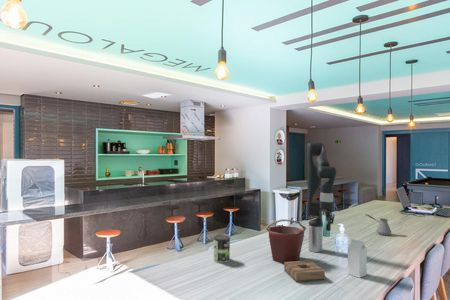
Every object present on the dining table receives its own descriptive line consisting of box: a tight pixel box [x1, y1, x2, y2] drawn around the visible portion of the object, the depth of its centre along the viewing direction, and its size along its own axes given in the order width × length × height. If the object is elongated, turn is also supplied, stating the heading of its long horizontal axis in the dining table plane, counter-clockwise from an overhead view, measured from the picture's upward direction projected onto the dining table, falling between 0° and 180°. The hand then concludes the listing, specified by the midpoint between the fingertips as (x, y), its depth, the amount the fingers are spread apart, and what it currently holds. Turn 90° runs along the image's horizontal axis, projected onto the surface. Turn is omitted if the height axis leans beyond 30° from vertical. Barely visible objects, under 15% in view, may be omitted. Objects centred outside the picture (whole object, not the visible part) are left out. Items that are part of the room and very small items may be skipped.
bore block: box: [283, 260, 326, 283], centre depth 169 cm, size 16×16×5 cm
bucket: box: [265, 218, 307, 265], centre depth 195 cm, size 24×22×25 cm
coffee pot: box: [365, 213, 392, 237], centre depth 263 cm, size 21×12×15 cm, turn 42°
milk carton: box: [347, 238, 368, 279], centre depth 171 cm, size 7×7×19 cm
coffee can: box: [213, 234, 231, 264], centre depth 193 cm, size 10×10×14 cm
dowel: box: [323, 215, 331, 238], centre depth 181 cm, size 4×4×12 cm
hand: (326, 229), depth 181 cm, fingers closed on dowel, 4 cm apart
